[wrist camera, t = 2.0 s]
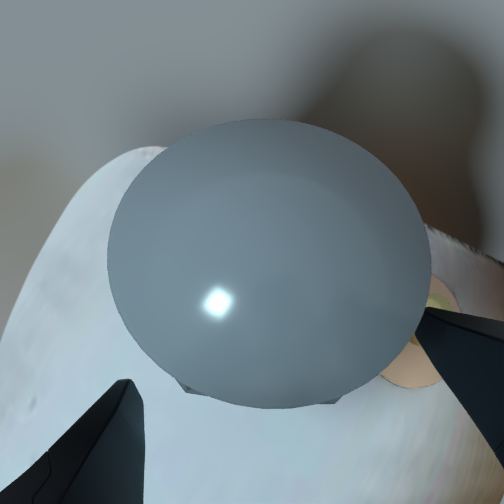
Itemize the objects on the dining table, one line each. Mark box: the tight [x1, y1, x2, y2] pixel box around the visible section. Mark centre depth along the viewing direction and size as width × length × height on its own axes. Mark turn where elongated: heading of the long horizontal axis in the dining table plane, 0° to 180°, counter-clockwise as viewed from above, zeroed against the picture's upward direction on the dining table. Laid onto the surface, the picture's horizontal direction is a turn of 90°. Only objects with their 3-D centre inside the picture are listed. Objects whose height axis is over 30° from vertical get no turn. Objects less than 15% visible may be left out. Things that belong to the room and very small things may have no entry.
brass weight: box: [409, 293, 454, 346], centre depth 16 cm, size 3×3×2 cm
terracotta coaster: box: [379, 274, 461, 389], centre depth 18 cm, size 9×9×1 cm
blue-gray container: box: [107, 119, 431, 409], centre depth 12 cm, size 7×7×13 cm
